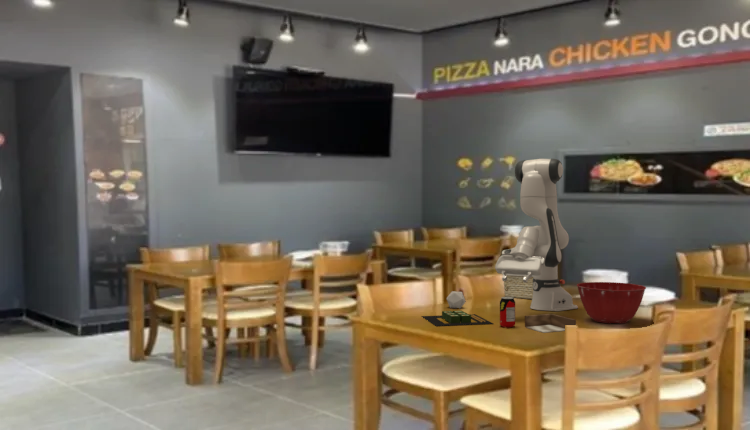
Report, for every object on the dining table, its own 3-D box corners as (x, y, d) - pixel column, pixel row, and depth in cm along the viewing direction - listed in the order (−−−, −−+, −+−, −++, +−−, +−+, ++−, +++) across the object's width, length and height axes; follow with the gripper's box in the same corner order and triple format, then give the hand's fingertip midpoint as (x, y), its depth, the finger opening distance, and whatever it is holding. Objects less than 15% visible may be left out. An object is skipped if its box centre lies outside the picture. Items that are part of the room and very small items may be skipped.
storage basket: (500, 296, 413) (500, 268, 413) (518, 293, 425) (518, 266, 424) (540, 301, 396) (540, 272, 396) (557, 298, 408) (557, 269, 407)
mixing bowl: (617, 314, 356) (617, 280, 356) (660, 324, 330) (660, 287, 329) (563, 318, 346) (563, 283, 346) (603, 329, 320) (604, 291, 319)
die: (468, 308, 378) (459, 291, 382) (468, 302, 370) (459, 284, 375) (452, 315, 377) (444, 297, 382) (452, 308, 370) (444, 291, 374)
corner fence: (551, 324, 331) (551, 313, 331) (575, 330, 316) (575, 319, 316) (522, 326, 325) (522, 316, 325) (546, 333, 310) (546, 322, 310)
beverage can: (513, 325, 330) (513, 296, 329) (516, 327, 323) (516, 298, 323) (498, 325, 330) (498, 296, 329) (501, 327, 323) (501, 298, 323)
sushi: (493, 325, 332) (493, 316, 332) (436, 328, 327) (436, 319, 327) (475, 316, 356) (475, 308, 356) (421, 318, 352) (421, 309, 352)
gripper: (547, 261, 341) (539, 287, 333) (502, 259, 352) (494, 283, 344) (543, 252, 337) (536, 277, 329) (499, 250, 348) (490, 274, 340)
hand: (514, 280), depth 337 cm, fingers open, 8 cm apart
